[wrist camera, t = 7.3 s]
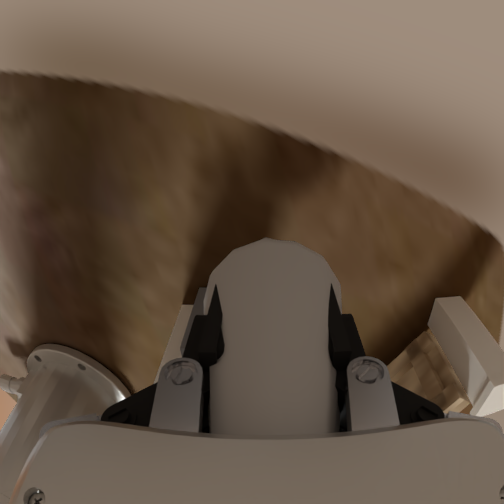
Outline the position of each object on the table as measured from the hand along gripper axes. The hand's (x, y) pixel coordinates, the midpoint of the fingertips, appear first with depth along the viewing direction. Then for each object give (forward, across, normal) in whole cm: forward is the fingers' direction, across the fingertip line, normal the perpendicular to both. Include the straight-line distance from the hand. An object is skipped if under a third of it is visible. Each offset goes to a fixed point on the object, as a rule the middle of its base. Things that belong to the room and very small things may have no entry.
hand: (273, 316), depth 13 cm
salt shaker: (+3, 0, 0) cm, 3 cm away
